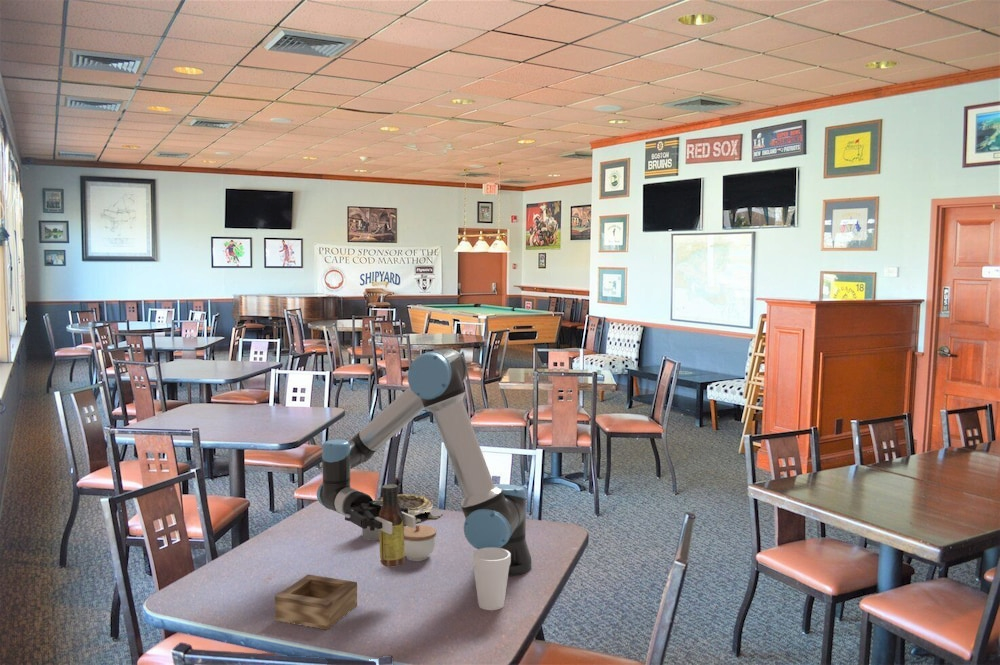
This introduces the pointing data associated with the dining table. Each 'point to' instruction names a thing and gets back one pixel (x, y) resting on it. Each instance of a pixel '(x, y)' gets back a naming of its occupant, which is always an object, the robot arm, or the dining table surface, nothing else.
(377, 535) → the cup
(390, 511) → the sauce bottle
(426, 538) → the lidded jar
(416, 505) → the pie
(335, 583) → the open wooden box
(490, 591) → the foam cup
